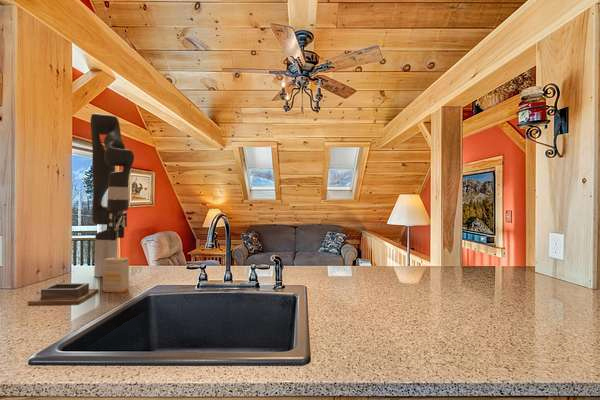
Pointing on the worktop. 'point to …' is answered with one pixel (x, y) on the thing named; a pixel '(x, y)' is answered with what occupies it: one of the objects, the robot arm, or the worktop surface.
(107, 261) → the supplement box
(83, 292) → the slot holder
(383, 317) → the worktop surface
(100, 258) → the robot arm
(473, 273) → the worktop surface
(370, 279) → the worktop surface
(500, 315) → the worktop surface
